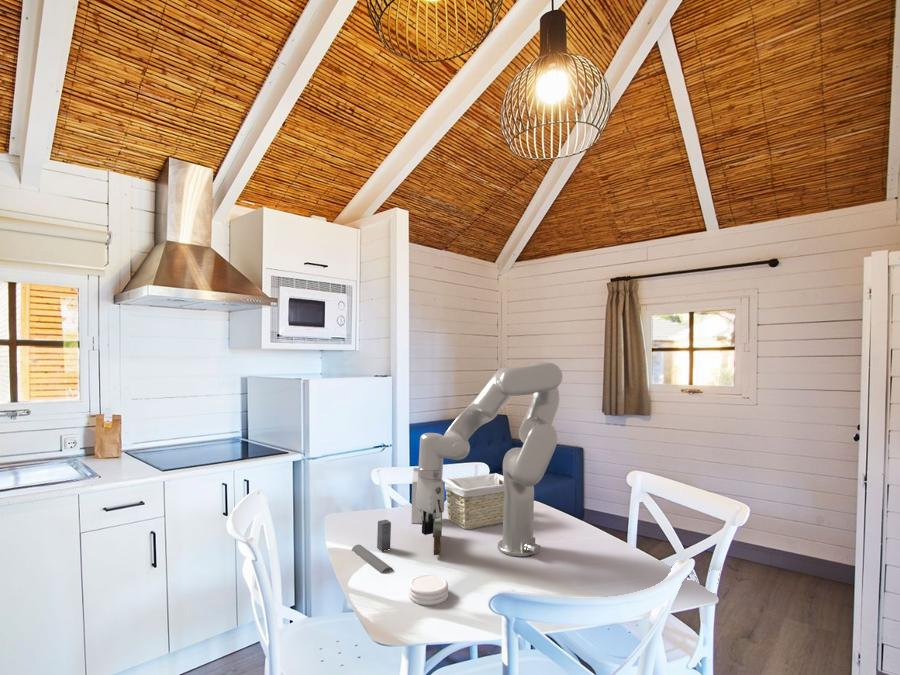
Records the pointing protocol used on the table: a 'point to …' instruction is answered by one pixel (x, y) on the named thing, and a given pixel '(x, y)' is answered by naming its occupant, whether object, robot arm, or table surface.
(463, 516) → the storage basket
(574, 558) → the table surface
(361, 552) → the half round rod
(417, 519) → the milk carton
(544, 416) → the robot arm
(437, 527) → the wooden board
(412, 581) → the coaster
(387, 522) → the gate posts
